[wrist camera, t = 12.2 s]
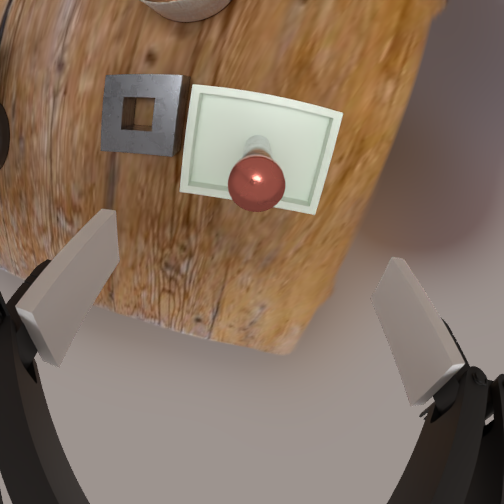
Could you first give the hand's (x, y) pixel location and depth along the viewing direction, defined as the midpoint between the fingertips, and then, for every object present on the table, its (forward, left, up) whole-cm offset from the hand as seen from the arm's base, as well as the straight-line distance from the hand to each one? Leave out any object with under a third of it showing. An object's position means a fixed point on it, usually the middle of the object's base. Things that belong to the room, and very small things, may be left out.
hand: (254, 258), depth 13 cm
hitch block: (-15, +3, -26) cm, 30 cm away
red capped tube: (0, 0, -25) cm, 25 cm away
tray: (0, 0, -26) cm, 26 cm away
